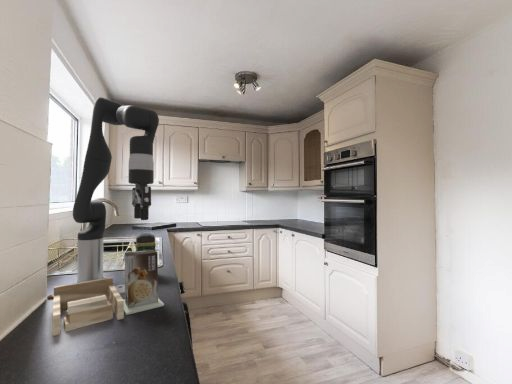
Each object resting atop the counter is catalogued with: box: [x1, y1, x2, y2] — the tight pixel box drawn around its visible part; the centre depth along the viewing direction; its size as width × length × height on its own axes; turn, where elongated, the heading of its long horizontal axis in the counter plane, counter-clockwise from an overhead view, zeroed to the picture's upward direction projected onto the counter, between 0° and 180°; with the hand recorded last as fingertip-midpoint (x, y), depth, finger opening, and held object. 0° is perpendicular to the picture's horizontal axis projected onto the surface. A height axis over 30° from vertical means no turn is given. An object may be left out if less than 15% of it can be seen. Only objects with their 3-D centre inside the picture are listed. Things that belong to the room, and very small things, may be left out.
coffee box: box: [124, 249, 159, 308], centre depth 86 cm, size 9×6×16 cm
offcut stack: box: [62, 295, 114, 332], centre depth 74 cm, size 6×11×6 cm, turn 131°
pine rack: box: [52, 276, 125, 337], centre depth 79 cm, size 20×16×7 cm
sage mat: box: [122, 297, 165, 316], centre depth 86 cm, size 12×11×1 cm
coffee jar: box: [135, 232, 156, 251], centre depth 117 cm, size 10×8×19 cm
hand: (141, 219), depth 86 cm, fingers open, 8 cm apart
